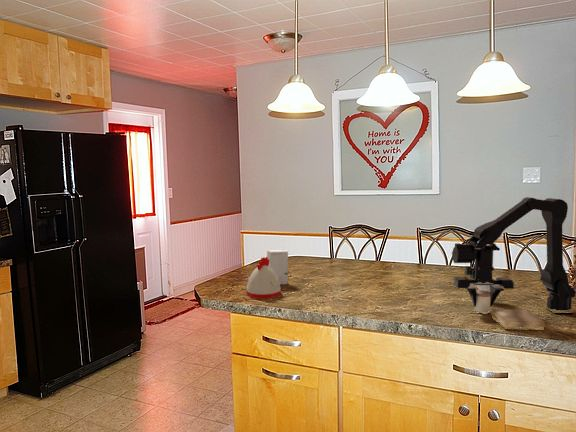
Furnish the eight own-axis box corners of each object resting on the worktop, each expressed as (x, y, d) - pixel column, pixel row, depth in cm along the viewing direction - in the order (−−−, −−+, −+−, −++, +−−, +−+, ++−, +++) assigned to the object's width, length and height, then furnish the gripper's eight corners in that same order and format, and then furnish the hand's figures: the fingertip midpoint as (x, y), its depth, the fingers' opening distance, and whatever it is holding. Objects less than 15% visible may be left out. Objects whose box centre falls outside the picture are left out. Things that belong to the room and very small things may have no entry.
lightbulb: (494, 300, 177) (495, 272, 176) (489, 304, 173) (490, 275, 171) (477, 297, 182) (478, 270, 180) (471, 301, 177) (472, 272, 176)
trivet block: (527, 318, 157) (528, 309, 156) (544, 330, 145) (545, 321, 144) (491, 317, 158) (491, 309, 157) (504, 330, 146) (505, 320, 145)
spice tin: (487, 310, 166) (487, 290, 165) (492, 314, 161) (493, 294, 160) (472, 309, 166) (472, 290, 166) (477, 314, 161) (477, 294, 160)
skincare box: (270, 285, 203) (270, 252, 201) (266, 282, 209) (266, 250, 207) (288, 284, 206) (288, 250, 204) (284, 281, 211) (283, 248, 210)
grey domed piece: (286, 292, 193) (286, 256, 191) (268, 300, 181) (268, 262, 180) (259, 288, 200) (258, 253, 198) (239, 295, 188) (239, 259, 187)
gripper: (502, 258, 169) (501, 300, 171) (450, 258, 170) (449, 299, 172) (515, 264, 158) (513, 309, 160) (458, 264, 159) (457, 308, 161)
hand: (482, 306), depth 163 cm, fingers closed on spice tin, 5 cm apart
